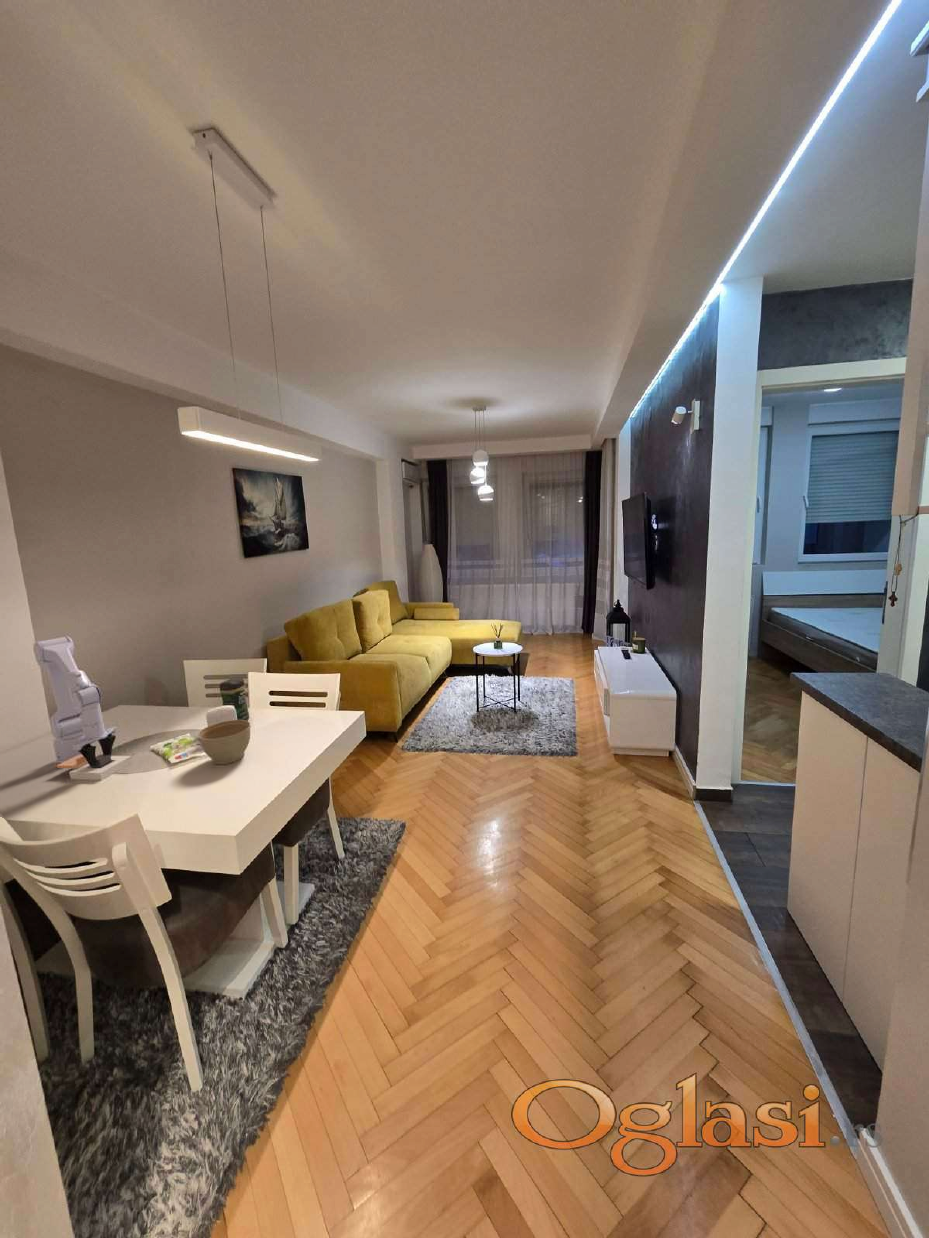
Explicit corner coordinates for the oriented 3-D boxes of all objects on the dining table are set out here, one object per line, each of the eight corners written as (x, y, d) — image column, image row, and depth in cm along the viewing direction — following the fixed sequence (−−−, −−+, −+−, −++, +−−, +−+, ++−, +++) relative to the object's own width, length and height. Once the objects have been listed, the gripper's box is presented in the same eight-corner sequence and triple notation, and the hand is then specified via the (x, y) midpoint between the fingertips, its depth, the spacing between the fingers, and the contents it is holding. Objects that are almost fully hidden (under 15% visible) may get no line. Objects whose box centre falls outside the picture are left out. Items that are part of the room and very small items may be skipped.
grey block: (92, 773, 166) (89, 759, 166) (102, 768, 170) (100, 754, 170) (102, 774, 166) (99, 759, 165) (112, 768, 170) (110, 754, 169)
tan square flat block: (57, 767, 166) (55, 759, 166) (79, 756, 174) (77, 749, 173) (77, 768, 165) (75, 760, 164) (98, 757, 172) (97, 749, 172)
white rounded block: (238, 732, 195) (233, 701, 192) (240, 735, 191) (235, 704, 189) (209, 739, 189) (204, 708, 187) (210, 743, 186) (205, 711, 183)
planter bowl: (195, 761, 171) (190, 731, 169) (242, 744, 182) (238, 716, 180) (213, 774, 160) (208, 742, 158) (262, 756, 171) (258, 726, 169)
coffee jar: (239, 726, 200) (232, 682, 197) (221, 726, 201) (214, 682, 198) (253, 717, 210) (246, 675, 206) (236, 717, 211) (229, 675, 208)
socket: (70, 779, 163) (69, 771, 163) (103, 762, 175) (101, 755, 175) (101, 780, 161) (100, 772, 161) (132, 762, 173) (131, 756, 172)
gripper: (82, 731, 157) (90, 772, 160) (121, 714, 171) (128, 751, 174) (63, 731, 159) (72, 771, 161) (104, 714, 173) (111, 751, 175)
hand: (100, 761), depth 167 cm, fingers open, 5 cm apart
